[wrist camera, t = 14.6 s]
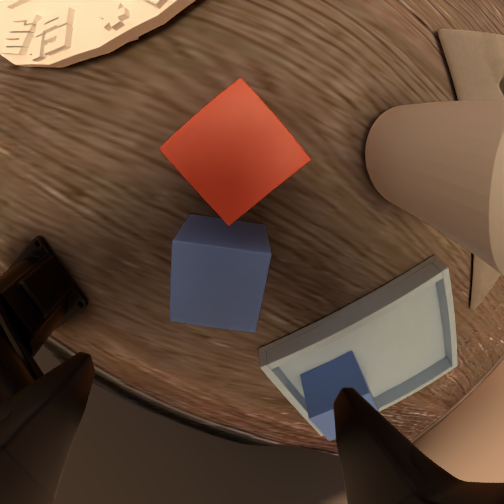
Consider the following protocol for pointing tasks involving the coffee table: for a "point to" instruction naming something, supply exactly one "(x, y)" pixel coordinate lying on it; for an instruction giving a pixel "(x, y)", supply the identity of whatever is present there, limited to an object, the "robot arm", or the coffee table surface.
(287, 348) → the tray
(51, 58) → the giant coin
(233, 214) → the red block
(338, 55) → the coffee table surface
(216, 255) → the blue block
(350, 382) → the blue block
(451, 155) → the beverage can
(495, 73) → the beige doorstop wedge
